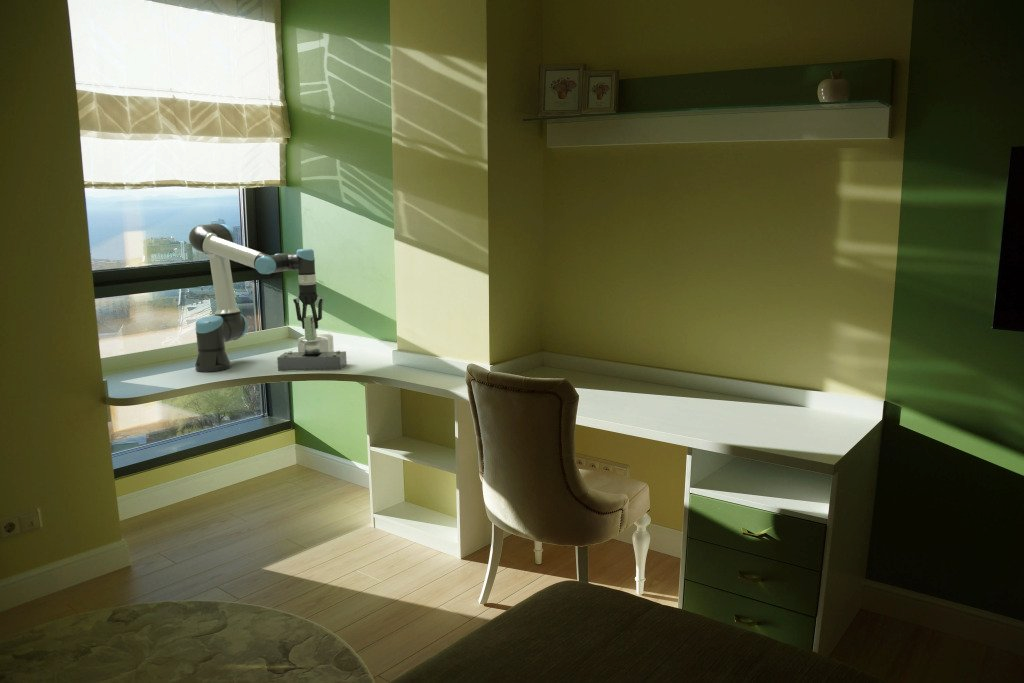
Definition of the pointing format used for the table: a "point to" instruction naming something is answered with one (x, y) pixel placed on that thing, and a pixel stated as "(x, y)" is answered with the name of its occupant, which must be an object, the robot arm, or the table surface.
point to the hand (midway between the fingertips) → (310, 335)
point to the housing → (312, 361)
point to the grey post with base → (310, 337)
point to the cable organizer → (320, 343)
